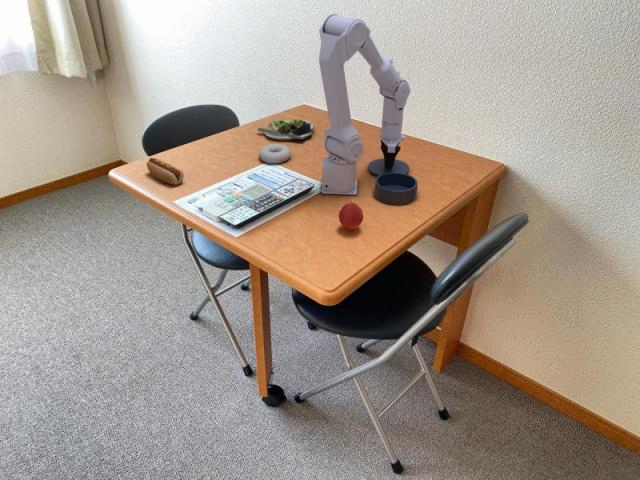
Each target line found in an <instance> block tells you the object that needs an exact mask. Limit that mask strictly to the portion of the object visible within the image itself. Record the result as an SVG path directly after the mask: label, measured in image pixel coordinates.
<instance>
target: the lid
mask: <svg viewBox="0 0 640 480" xmlns="http://www.w3.org/2000/svg"><path fill="white" fill-rule="evenodd" d="M367 169H368V171H369V172H370V173H371V174H373V175H375V176H377V177H378V176H379V175H381V174H384V173H389V172H399V173H405V174H408V173H409V172H410V166H409V164H408V163H407V162H405V161H402V160H400V159H397V158H395V161H394V165H393V167H392V168H385V164H384V157H383V158H378V159H374V160H372V161H370V162H369V163H368V164H367Z"/></svg>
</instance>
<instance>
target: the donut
mask: <svg viewBox="0 0 640 480" xmlns="http://www.w3.org/2000/svg"><path fill="white" fill-rule="evenodd" d="M258 156H259V159H260V160H261V161H263V162H265V163H267V164H281V163H285V162H286V161H288V160H289V159H290V158H291V156H292V151H291V148H290V147H289V146H287V145H285V144H280V143H270V144H266V145H264V146H262V147H261V148H260V150H259V152H258Z"/></svg>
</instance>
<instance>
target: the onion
mask: <svg viewBox="0 0 640 480" xmlns="http://www.w3.org/2000/svg"><path fill="white" fill-rule="evenodd" d="M338 220H339V223H340V224H341V226H342V227H344V228H346V229H348V230H349V231H353V230H355V229H357V228H358V227H359V226H361V224H362V223H363V221H364V212H363V209H362V208H361V207H360V206H359V205H358V204H356V203H355V201H354V200H350V201H349V202H347V203H346V204H344V205H343V206H342V207H341V208H340V209H339V211H338Z"/></svg>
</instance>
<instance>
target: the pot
mask: <svg viewBox="0 0 640 480" xmlns="http://www.w3.org/2000/svg"><path fill="white" fill-rule="evenodd" d="M418 185H419V183H418V179H416V178H415V176H412V175H410V174H408V173H407V174H405V173H399V172H389V173H384V174H381V175H379V176H377V177H375V180H374V196H375V198H376V199H377V200H378V201H380V202H382V203H384V204H388V205H393V206H394V205H395V206H401V205H407V204H410V203H412V202H413V201H415V200H416V198H417V195H418V194H417V193H418Z"/></svg>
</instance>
